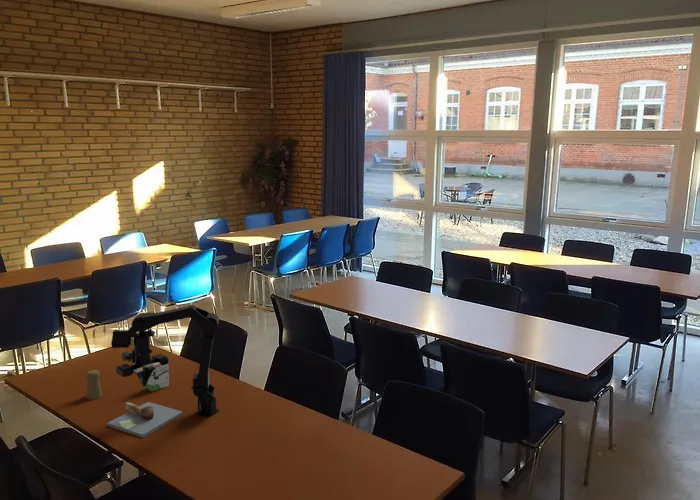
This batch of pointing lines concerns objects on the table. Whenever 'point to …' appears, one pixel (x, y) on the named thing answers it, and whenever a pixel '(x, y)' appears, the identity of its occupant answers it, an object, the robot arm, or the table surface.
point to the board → (145, 420)
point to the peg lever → (141, 410)
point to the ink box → (158, 377)
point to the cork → (93, 385)
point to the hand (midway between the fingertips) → (143, 386)
